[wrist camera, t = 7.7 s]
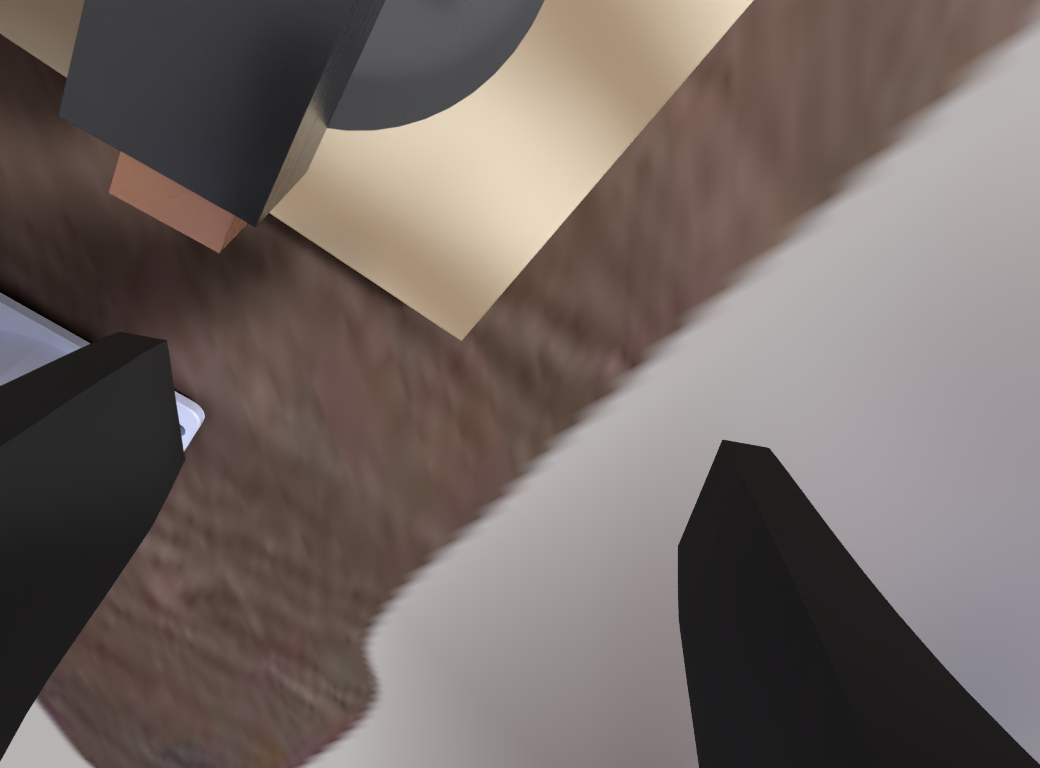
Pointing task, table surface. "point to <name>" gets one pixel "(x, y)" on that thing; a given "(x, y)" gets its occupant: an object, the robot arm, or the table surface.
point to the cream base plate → (474, 147)
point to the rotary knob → (265, 90)
